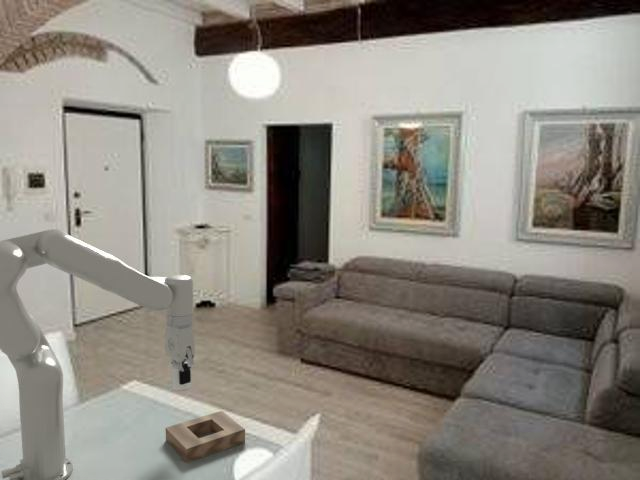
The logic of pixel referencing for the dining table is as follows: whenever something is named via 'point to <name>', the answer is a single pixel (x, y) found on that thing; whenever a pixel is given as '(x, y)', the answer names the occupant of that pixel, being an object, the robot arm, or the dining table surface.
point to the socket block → (194, 447)
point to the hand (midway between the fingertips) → (181, 379)
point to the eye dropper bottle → (175, 379)
